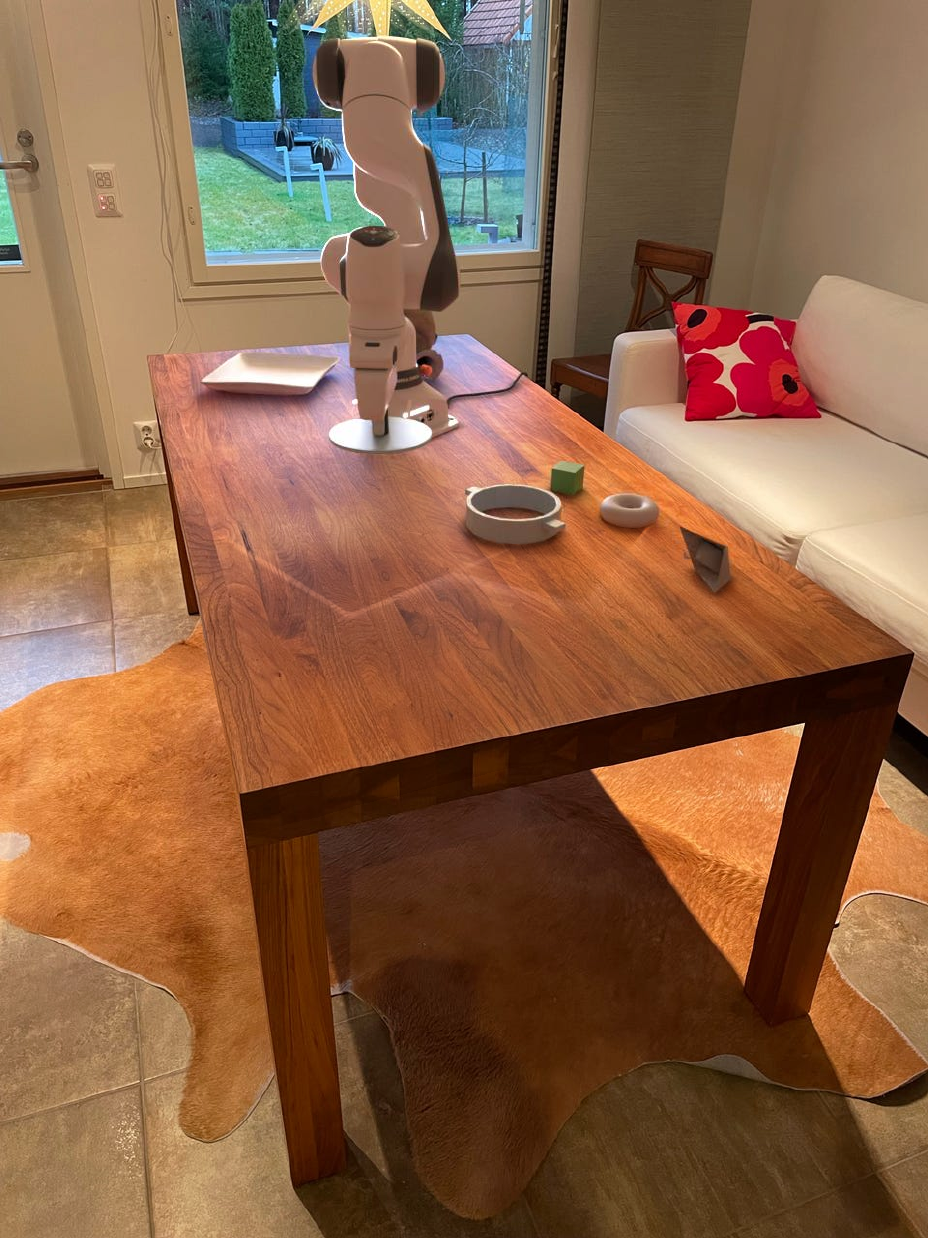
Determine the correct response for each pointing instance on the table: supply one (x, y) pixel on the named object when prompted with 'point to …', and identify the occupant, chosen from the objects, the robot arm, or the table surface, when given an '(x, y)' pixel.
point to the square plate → (270, 373)
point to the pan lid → (380, 436)
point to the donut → (629, 510)
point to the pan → (513, 528)
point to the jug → (425, 340)
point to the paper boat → (708, 559)
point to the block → (567, 477)
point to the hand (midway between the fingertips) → (380, 429)
